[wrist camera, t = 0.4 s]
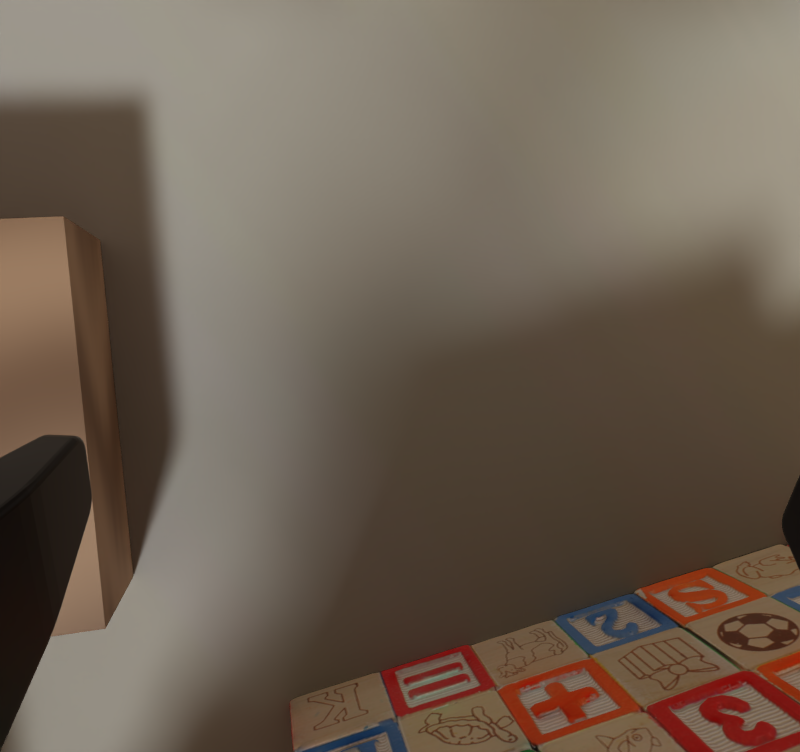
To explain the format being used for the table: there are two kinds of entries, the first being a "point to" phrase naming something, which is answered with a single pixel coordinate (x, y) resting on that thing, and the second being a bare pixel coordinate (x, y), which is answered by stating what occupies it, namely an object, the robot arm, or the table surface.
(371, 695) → the stack of blocks
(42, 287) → the walnut base
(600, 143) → the table surface
